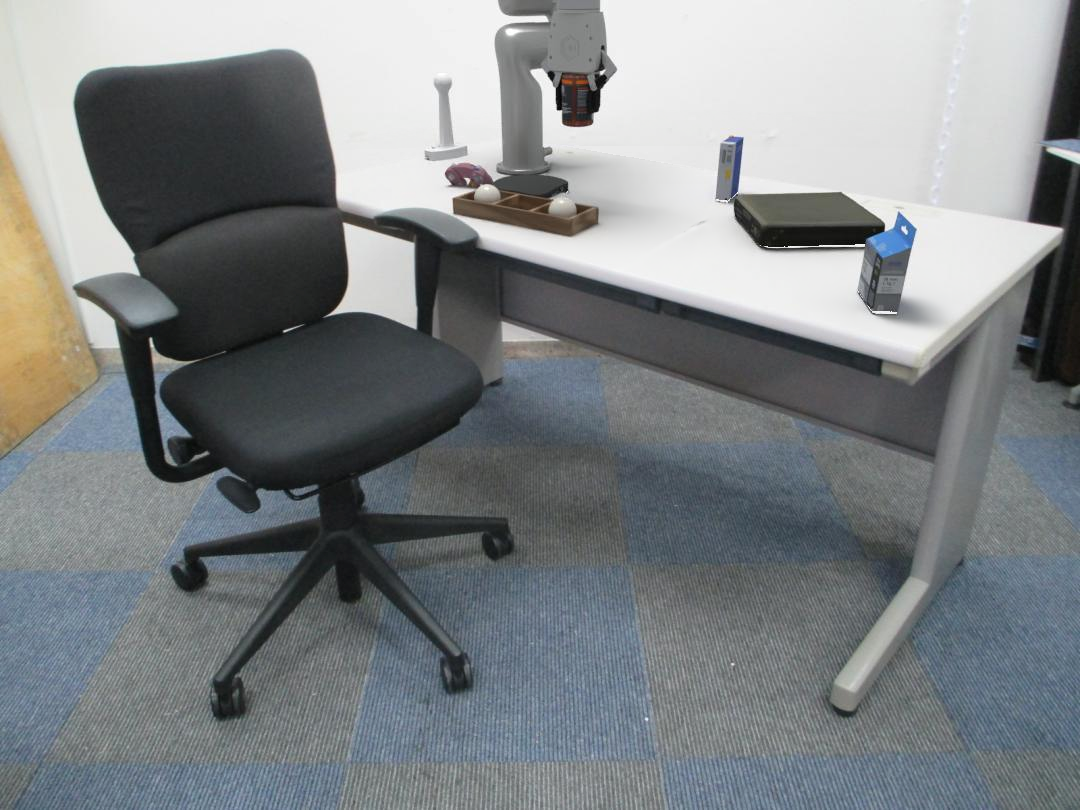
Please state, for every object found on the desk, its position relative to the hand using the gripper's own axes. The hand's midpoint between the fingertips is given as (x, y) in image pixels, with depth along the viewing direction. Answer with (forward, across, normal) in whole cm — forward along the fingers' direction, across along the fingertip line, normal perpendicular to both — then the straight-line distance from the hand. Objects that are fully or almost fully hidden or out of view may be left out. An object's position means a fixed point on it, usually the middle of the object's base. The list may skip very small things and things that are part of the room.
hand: (577, 110), depth 152 cm
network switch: (+20, +41, +11) cm, 47 cm away
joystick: (+20, -56, +28) cm, 66 cm away
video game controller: (+20, -31, +5) cm, 37 cm away
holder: (+19, -6, -10) cm, 23 cm away
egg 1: (+19, -14, -10) cm, 25 cm away
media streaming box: (+20, -17, +8) cm, 28 cm away
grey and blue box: (+20, +61, -17) cm, 66 cm away
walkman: (+20, +21, +26) cm, 39 cm away
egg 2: (+19, +3, -10) cm, 22 cm away
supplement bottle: (+3, 0, 0) cm, 3 cm away
